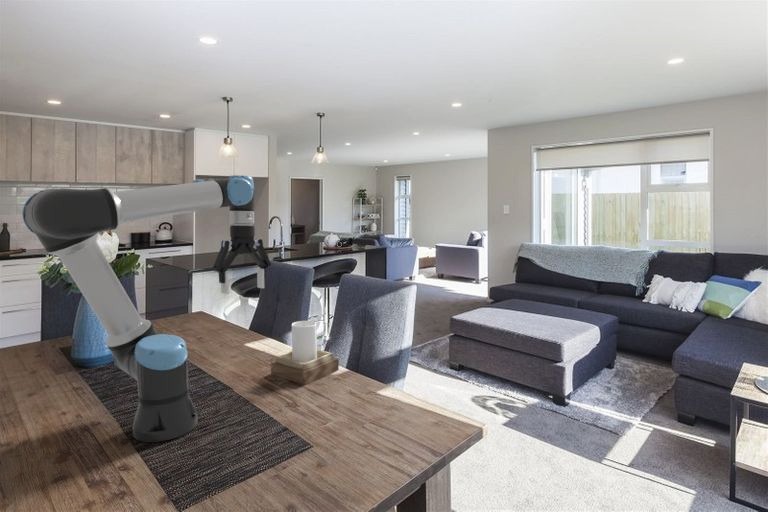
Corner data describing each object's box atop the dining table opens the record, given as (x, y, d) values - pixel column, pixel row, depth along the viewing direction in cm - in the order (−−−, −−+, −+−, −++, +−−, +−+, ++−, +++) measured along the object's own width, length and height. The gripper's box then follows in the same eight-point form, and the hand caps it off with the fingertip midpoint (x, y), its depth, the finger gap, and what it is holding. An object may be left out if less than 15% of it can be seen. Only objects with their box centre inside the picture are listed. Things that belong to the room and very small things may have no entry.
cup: (314, 374, 148) (314, 327, 146) (290, 374, 148) (289, 326, 146) (319, 365, 156) (318, 320, 154) (295, 365, 156) (294, 320, 155)
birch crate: (305, 382, 143) (304, 364, 142) (276, 373, 151) (276, 356, 150) (333, 370, 154) (332, 353, 153) (305, 362, 162) (305, 346, 161)
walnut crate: (305, 387, 141) (304, 372, 141) (271, 376, 151) (270, 362, 150) (338, 372, 154) (338, 358, 154) (305, 363, 163) (305, 350, 163)
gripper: (213, 225, 131) (215, 297, 133) (280, 224, 150) (281, 286, 152) (199, 225, 135) (201, 294, 137) (266, 224, 155) (267, 284, 157)
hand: (243, 290), depth 145 cm, fingers open, 13 cm apart
